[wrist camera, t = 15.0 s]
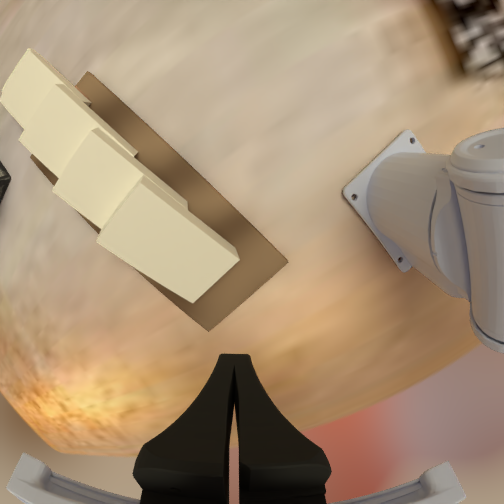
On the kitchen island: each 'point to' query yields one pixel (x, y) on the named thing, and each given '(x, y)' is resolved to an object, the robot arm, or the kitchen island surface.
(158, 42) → the kitchen island surface
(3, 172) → the small box
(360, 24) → the kitchen island surface
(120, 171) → the domino
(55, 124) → the domino
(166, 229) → the domino
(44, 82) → the domino
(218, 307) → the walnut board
